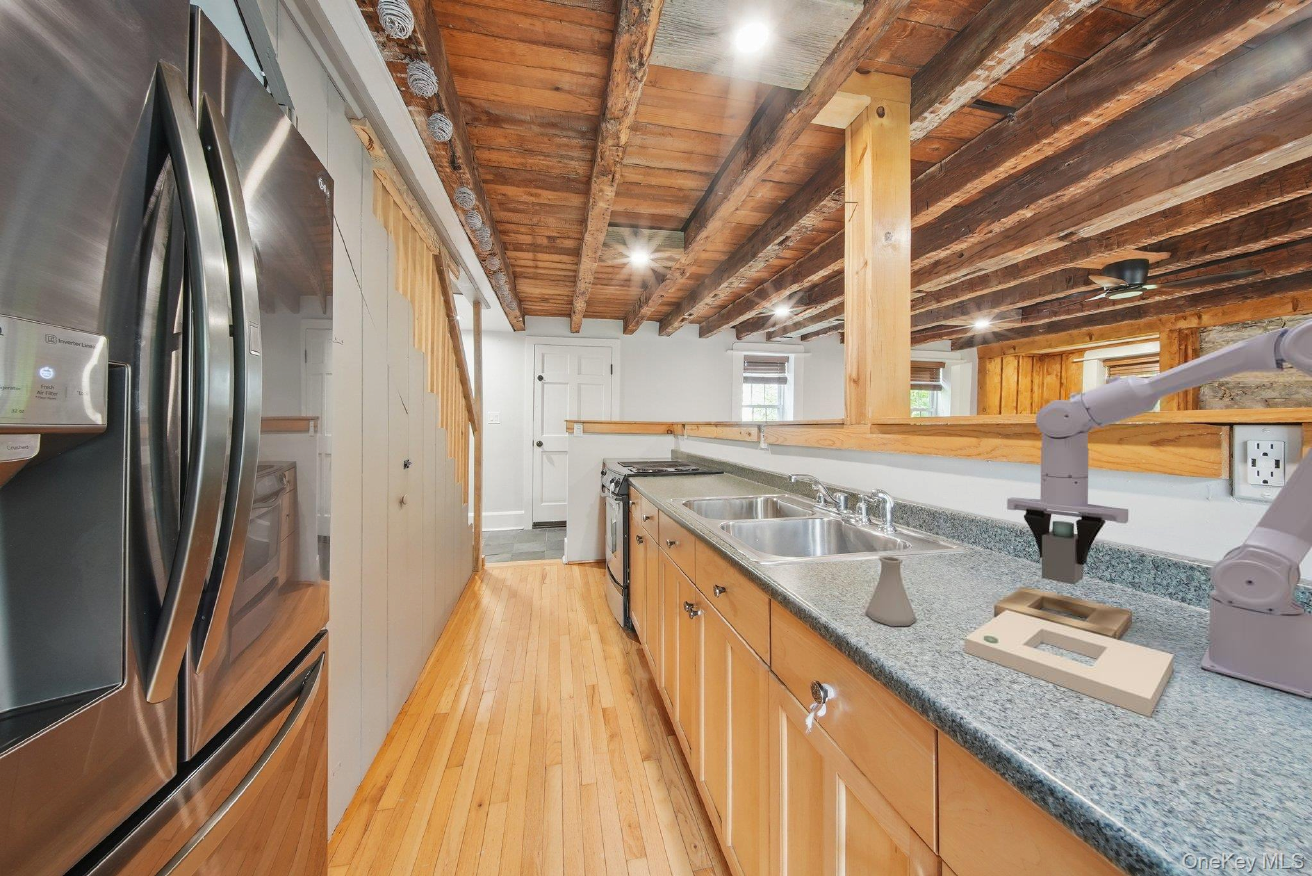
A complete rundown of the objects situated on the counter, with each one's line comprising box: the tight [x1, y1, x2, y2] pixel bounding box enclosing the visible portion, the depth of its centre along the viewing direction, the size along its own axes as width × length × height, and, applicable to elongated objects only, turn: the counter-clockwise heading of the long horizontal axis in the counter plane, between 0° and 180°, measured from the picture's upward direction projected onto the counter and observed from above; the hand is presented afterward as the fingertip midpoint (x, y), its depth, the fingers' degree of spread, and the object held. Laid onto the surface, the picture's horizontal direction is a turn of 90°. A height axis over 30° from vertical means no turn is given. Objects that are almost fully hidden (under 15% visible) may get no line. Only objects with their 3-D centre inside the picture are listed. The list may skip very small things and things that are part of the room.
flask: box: [864, 555, 918, 627], centre depth 76 cm, size 7×7×10 cm
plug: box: [1041, 520, 1084, 586], centre depth 75 cm, size 4×5×9 cm
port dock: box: [963, 610, 1175, 718], centre depth 62 cm, size 18×16×2 cm
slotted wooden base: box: [993, 585, 1133, 640], centre depth 75 cm, size 14×14×2 cm
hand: (1062, 560), depth 75 cm, fingers closed on plug, 4 cm apart
